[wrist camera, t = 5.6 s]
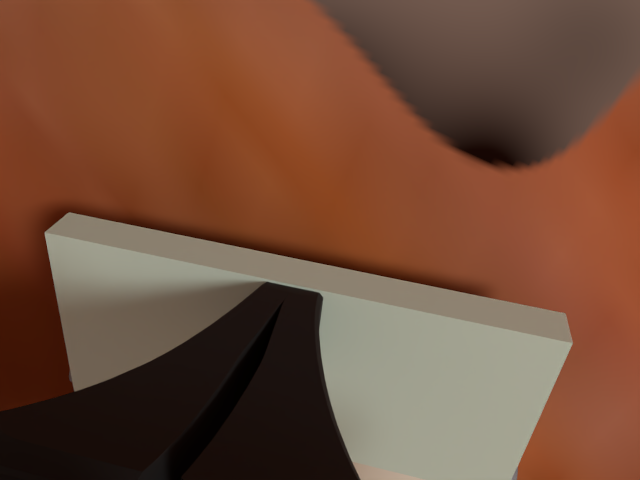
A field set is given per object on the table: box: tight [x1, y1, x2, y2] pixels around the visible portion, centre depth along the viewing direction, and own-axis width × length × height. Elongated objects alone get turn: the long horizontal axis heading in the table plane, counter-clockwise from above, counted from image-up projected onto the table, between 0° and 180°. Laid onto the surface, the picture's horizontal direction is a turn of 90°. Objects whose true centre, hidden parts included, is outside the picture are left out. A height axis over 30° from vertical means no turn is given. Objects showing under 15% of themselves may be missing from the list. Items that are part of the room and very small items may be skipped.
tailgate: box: [44, 212, 573, 480], centre depth 15 cm, size 12×1×5 cm
